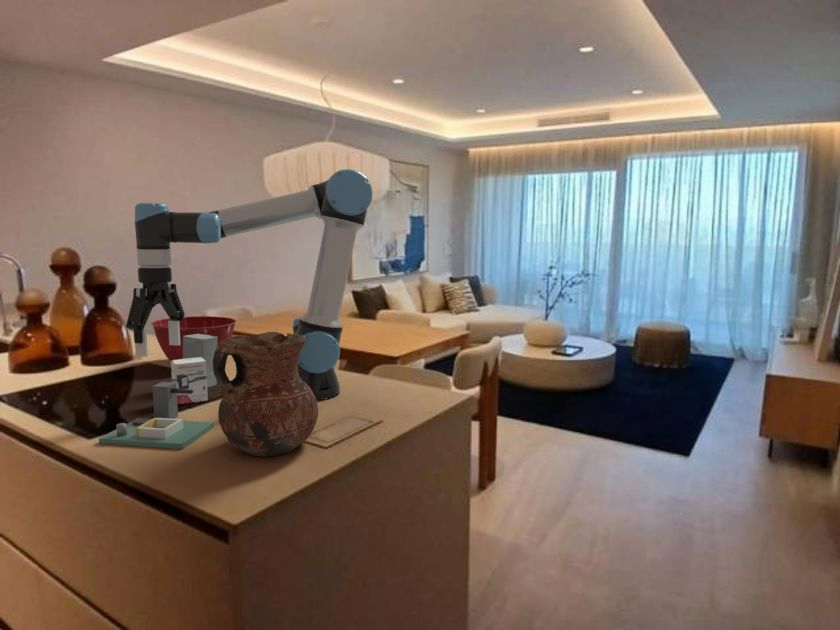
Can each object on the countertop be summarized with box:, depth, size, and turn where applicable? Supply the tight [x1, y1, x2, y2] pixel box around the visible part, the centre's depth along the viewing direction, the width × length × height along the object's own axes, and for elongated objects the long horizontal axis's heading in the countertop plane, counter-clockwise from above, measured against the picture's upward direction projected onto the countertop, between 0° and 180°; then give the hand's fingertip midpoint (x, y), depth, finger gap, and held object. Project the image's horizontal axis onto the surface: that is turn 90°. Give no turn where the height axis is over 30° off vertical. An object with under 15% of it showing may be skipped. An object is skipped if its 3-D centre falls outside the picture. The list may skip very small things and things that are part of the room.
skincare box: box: [183, 334, 218, 389], centre depth 169 cm, size 8×7×16 cm
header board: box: [98, 417, 215, 450], centre depth 128 cm, size 20×14×4 cm
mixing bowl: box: [150, 315, 237, 362], centre depth 198 cm, size 28×28×15 cm
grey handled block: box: [151, 381, 193, 419], centre depth 139 cm, size 10×4×9 cm, turn 83°
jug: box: [213, 331, 319, 457], centre depth 121 cm, size 22×21×25 cm
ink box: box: [170, 357, 209, 405], centre depth 154 cm, size 8×5×12 cm, turn 123°
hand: (159, 350), depth 139 cm, fingers open, 13 cm apart
